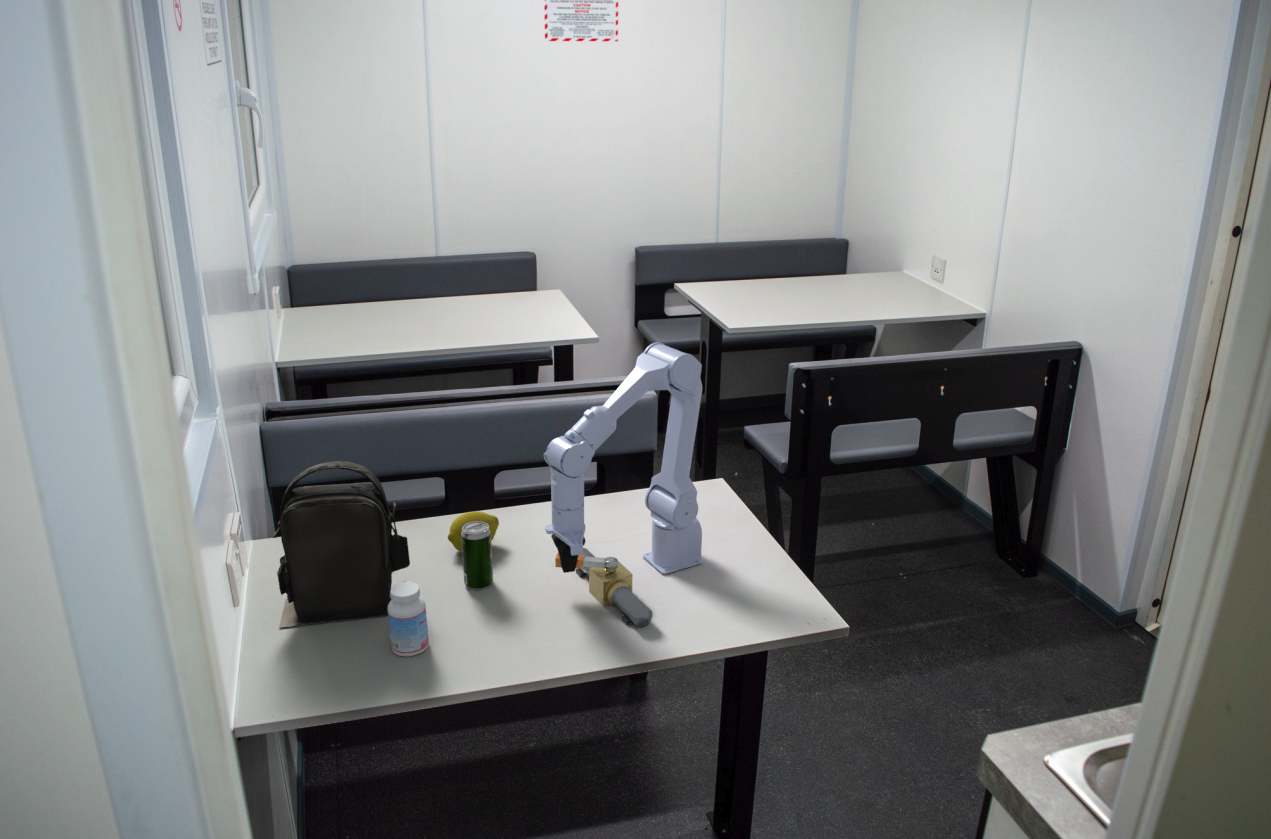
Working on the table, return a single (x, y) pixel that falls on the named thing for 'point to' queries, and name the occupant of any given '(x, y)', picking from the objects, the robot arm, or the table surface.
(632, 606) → the valve pipe
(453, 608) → the table surface
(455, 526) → the lemon
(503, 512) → the table surface
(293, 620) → the shoulder bag
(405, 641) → the pill bottle
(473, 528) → the beer can
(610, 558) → the valve lever
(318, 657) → the table surface
